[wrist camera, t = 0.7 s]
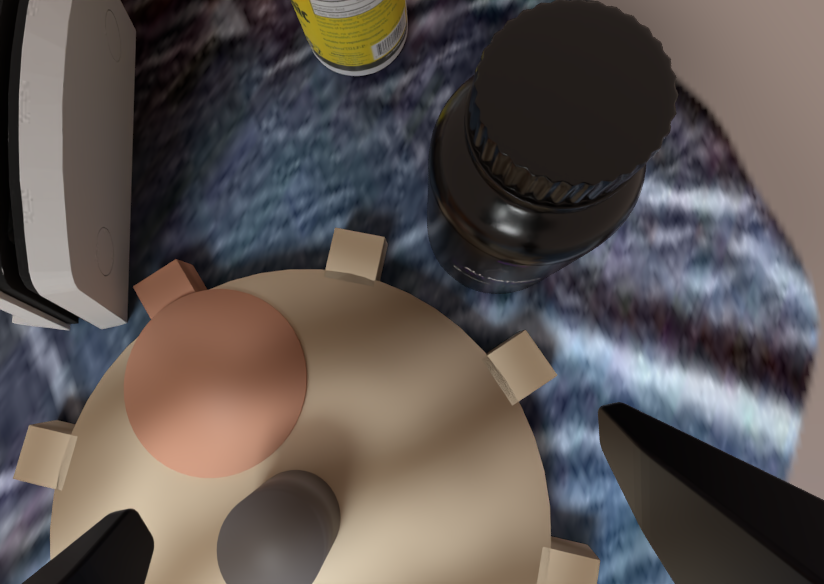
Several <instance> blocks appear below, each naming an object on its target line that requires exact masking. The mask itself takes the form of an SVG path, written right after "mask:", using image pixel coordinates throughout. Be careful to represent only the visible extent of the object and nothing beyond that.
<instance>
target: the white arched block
mask: <svg viewBox="0 0 824 584" xmlns="http://www.w3.org/2000/svg"><path fill="white" fill-rule="evenodd" d="M135 49H136V30H135V28H134V26H133V24H132V22H131V20H130V18H129V16H128V14H127V12H126V10H125V8H124V6H123V4H122V2H121V1H120V0H0V309H1V310H3V311H5V312H8V313H10V314H12V315H13V319H12V323H15V324H21V325H28V326H36V327H46V328H54V329H62V330H70V324H75V323H78V319H79V318H81V319H83V320H85V321H87V322H88V323H91V324H93V325H95V326H97V327H98V328H100V329H105V328H110V327H114V326H119V325H122V324H125V323H127V316H128V283H129V249H130V216H131V183H132V149H133V116H134V83H135Z"/></svg>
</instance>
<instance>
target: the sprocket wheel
mask: <svg viewBox="0 0 824 584" xmlns="http://www.w3.org/2000/svg"><path fill="white" fill-rule="evenodd" d="M387 246H388V244H387V241H386V239H385V237H381V236H376V235H371V234H366V233H361V232H355V231H350V230H345V229H340V228H335V230H334V235H333V239H332V243H331V248H330V252H329V256H328V260H327V265H326V269H325V270H321V269H289V270H281V271H274V272H266V273H259V274H255V275H251V276H248V277H244V278H240V279H236V280H232V281H229V282H227V283H224V284H222V285H219V286H217V287H214V288H212V289H209V290H207V288H206V286H205V285H204V283H203V281H202V280H201V278H200V276H199V274H198V273H197V271H196V269H195V268H194V266H193V265H191V264H189V263H186V262H183V261H180V260H178V259H175V260H174V261H172V262H171V263H169V264H167V265H166V266H164V267H163V268H161V269H160V270H158V271H157V272H155V273H153V274H152V275H150V276H149V277H147V278H146V279H144V280H142V281H141V282H139V283H138V284H136V285H135V286H133V288H134V290H135V291H136V293H137V295H138V297H139V299H140V300H141V302H142V304H143V306H144V307H145V309H146V311H147V313H148V315H149V316H150V318H151V320H150V322H149V323H148V324H147V325H146V326H145V328H144V329H143V330H142V332H141V333H140V335H139V336H138V337H137V338H136V339H135V340H134V341H133V342H132V343H131V344H130V345H129V346H128V347H127V348H126V349H125V350H124V351H123V352H122V354H121V355H120V356H119V357H118V358H117V360H116V361H115V362H114V363H113V364H112V366H111V367H110V368H109V369H108V370H107V372H106V373H105V374H104V376H103V377H102V379H101V380H100V382H99V383H98V385H97V387H96V388H95V390H94V391H93V393H92V394H91V396H90V397H89V399H88V400H87V402H86V404H85V406H84V408H83V410H82V412H81V414H80V417H79V419H78V421H77V423H76V425H75V424H71V423H67V422H63V421H58V420H55V421H49V422H44V423H38V424H33V425H29V428H28V431H27V434H26V438H25V441H24V444H23V447H22V451H21V454H20V457H19V461H18V464H17V467H16V470H15V474H14V477H13V479H17V480H21V481H25V482H29V483H33V484H37V485H41V486H45V487H49V488H53V489H55V492H54V499H53V508H52V517H51V526H50V554H51V560H52V559H53V558H54V557H55V556H57V555H58V554H59V553H60V552H62V551H63V550H64V549H65V548H67V547H68V546H69V545H70V544H72V543H73V542H74V541H75V540H77V539H78V538H79V537H80V536H81V535H83V534H84V533H85V532H86V531H88V530H89V529H90V528H91V527H93V526H94V525H95V524H96V523H98V522H99V521H100V520H101V519H103V518H104V517H105V516H106V515H108V514H109V513H112V512H115V511H119V510H124V509H128V508H131V509H135V510H136V511H137V512H138V513H139V514H140V516H141V518H142V519H143V521H144V523H145V524H146V526H147V528H148V529H149V531H150V533H151V534H152V536H153V539H154V552H153V555H152V559H151V563H150V566H149V570H148V574H147V577H146V581H145V584H597V579H598V572H599V565H600V559H599V558H598V557H597V556H596V554H595V553H594V552H593V551H592V550H591V548H590V547H589V546H588V545H586V544H582V543H578V542H574V541H569V540H565V539H561V538H557V537H552V536H551V523H550V503H549V497H548V491H547V484H546V478H545V472H544V468H543V465H542V461H541V458H540V454H539V451H538V447H537V444H536V440H535V437H534V435H533V432H532V430H531V428H530V425H529V423H528V421H527V418H526V416H525V414H524V411H523V409H522V407H521V405H520V403H519V401H520V400H522V399H523V398H525V397H526V396H528V395H529V394H531V393H532V392H534V391H535V390H537V389H538V388H540V387H541V386H542V385H544V384H545V383H547V382H548V381H550V380H551V379H553V378H554V377H556V376H557V374H556V373H555V371H554V370H553V368H552V367H551V365H550V364H549V363H548V361H547V360H546V358H545V357H544V355H543V354H542V352H541V351H540V350H539V348H538V347H537V345H536V344H535V342H534V341H533V340H532V338H531V337H530V335H529V334H528V332H527V331H526V330H523V331H519V332H518V333H516V334H515V335H513V336H512V337H510V338H509V339H507V340H506V341H504V342H503V343H501V344H500V345H498V346H497V347H495V348H494V349H492V350H491V351H489V352H488V353H485V352H484V351H483V350H482V349H481V348H480V347H479V346H478V345H477V344H476V343H475V342H474V341H473V340H472V339H471V338H470V337H469V336H468V335H467V334H466V333H465V332H464V331H463V330H462V329H461V328H460V327H459V326H457V325H456V324H455V323H453V322H452V321H451V320H450V319H448V318H447V317H446V316H444V315H443V314H442V313H440V312H439V311H438V310H437V309H435V308H433V307H432V306H430V305H428V304H426V303H425V302H423V301H421V300H420V299H418V298H416V297H414V296H413V295H411V294H409V293H407V292H405V291H402V290H400V289H397V288H395V287H393V286H390V285H388V284H385V283H383V282H381V281H380V278H381V274H382V269H383V265H384V260H385V255H386V251H387Z"/></svg>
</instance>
